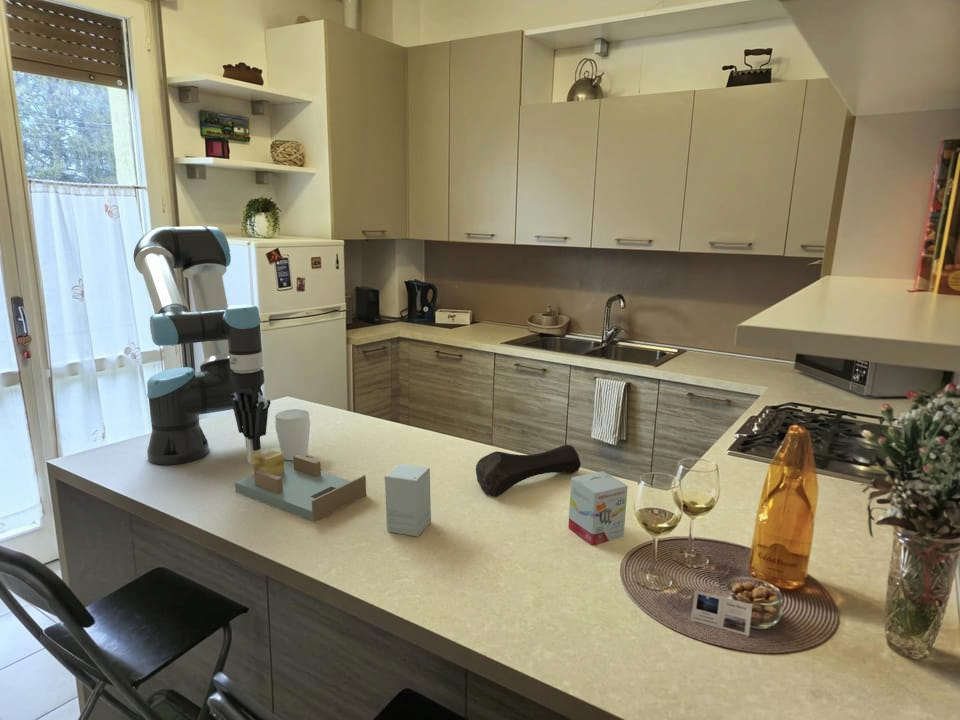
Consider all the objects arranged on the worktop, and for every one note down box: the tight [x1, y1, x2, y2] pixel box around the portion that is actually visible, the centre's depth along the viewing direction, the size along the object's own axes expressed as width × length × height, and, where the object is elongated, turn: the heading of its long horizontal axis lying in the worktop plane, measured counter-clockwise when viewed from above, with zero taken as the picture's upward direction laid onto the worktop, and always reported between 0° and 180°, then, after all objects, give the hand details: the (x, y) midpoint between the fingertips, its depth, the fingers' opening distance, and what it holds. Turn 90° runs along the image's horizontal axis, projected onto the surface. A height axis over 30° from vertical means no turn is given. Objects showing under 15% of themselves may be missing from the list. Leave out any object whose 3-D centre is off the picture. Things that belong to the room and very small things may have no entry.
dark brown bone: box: [475, 444, 582, 498], centre depth 156 cm, size 11×10×28 cm
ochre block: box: [252, 448, 285, 476], centre depth 153 cm, size 5×5×5 cm
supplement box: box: [384, 463, 432, 538], centre depth 132 cm, size 7×7×13 cm
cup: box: [274, 409, 311, 462], centre depth 170 cm, size 9×9×12 cm
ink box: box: [567, 470, 629, 547], centre depth 130 cm, size 9×9×12 cm
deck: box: [234, 455, 367, 523], centre depth 148 cm, size 27×16×6 cm, turn 57°
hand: (254, 461), depth 156 cm, fingers closed
